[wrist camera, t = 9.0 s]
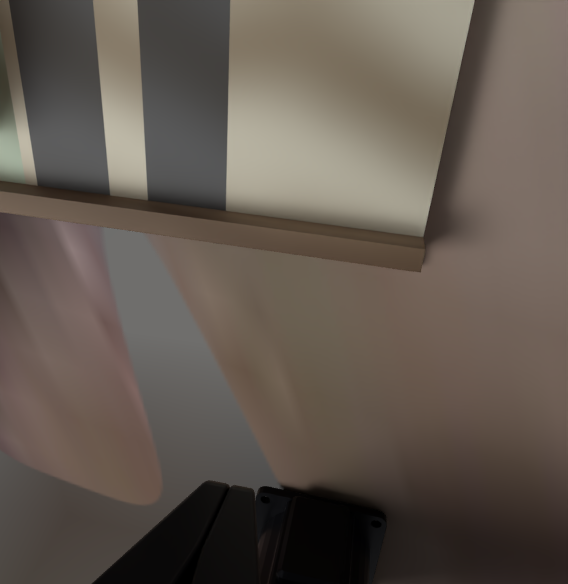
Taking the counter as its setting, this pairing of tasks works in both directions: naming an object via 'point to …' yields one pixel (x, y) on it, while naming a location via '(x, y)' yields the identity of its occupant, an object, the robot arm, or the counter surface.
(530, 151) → the counter surface
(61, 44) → the trap lane
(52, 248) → the counter surface
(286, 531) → the robot arm
